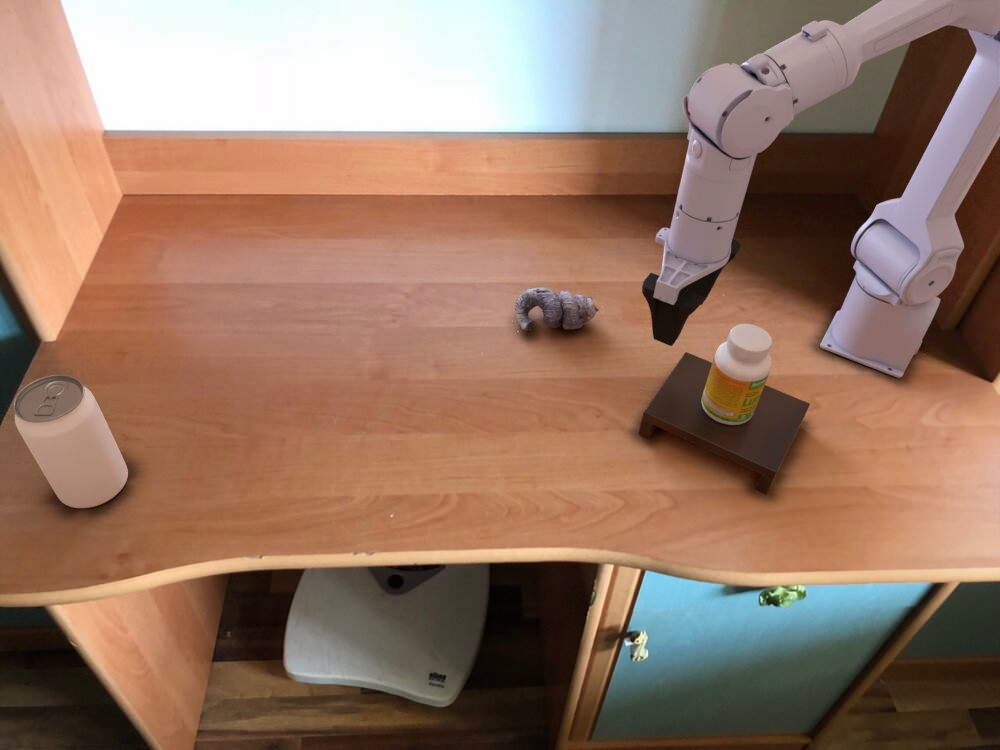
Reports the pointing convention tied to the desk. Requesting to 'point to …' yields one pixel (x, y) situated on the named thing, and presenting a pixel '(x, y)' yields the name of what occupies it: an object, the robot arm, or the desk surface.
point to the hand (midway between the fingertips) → (679, 319)
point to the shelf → (745, 443)
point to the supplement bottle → (738, 375)
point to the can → (70, 440)
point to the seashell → (555, 308)
